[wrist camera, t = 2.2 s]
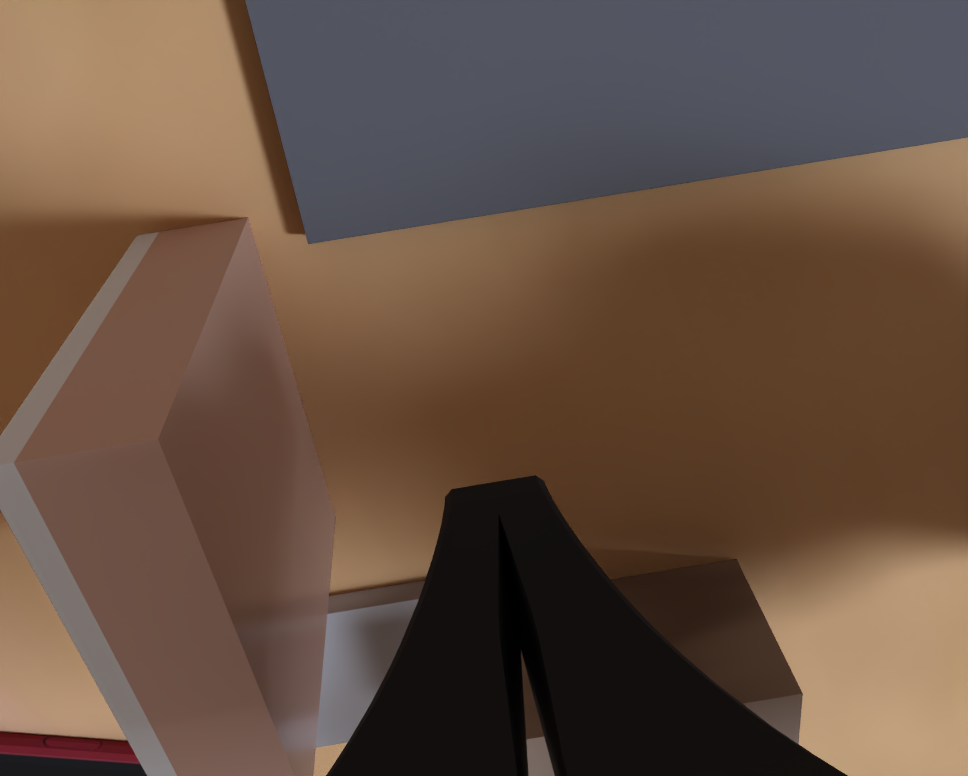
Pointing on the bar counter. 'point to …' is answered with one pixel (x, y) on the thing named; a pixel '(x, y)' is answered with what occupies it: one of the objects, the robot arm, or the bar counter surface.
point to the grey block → (388, 610)
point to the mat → (588, 96)
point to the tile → (182, 509)
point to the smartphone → (65, 756)
